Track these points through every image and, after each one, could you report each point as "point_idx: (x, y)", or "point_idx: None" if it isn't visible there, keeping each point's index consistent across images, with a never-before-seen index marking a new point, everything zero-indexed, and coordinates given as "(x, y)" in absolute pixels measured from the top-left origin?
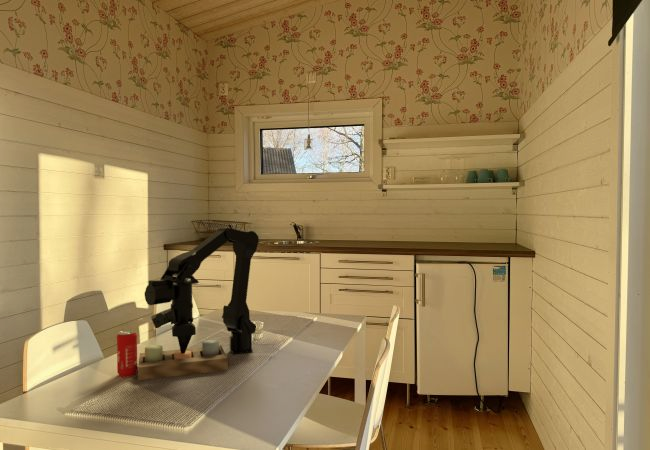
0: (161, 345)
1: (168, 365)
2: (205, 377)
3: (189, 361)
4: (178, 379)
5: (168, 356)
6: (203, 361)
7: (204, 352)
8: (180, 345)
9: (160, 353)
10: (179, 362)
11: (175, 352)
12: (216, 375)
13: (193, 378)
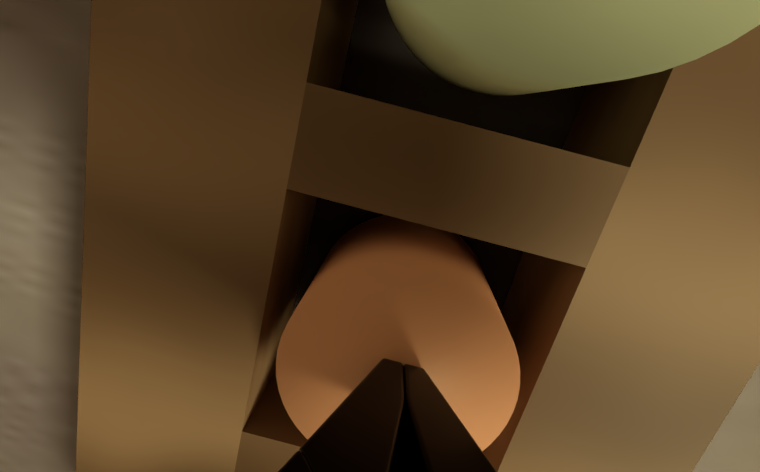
0: (645, 73)
1: (104, 76)
2: (42, 349)
3: (101, 339)
4: (75, 148)
5: (484, 187)
6: (84, 453)
7: None
8: (320, 438)
9: (400, 9)
10: (112, 230)
11: (488, 308)
12: (58, 425)
13: (53, 266)
